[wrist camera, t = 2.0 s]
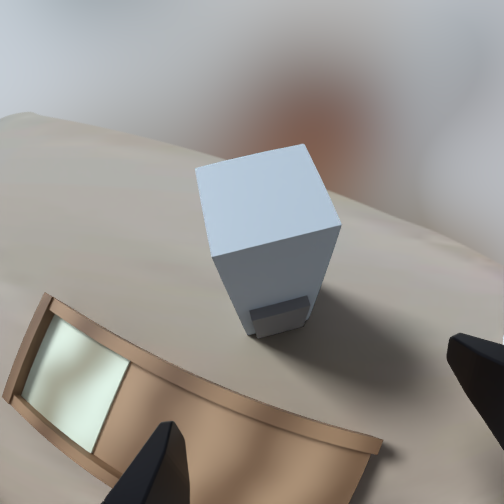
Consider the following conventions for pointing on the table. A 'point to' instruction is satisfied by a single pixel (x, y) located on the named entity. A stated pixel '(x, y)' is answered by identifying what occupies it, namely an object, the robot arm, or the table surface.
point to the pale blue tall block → (269, 235)
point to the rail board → (173, 418)
